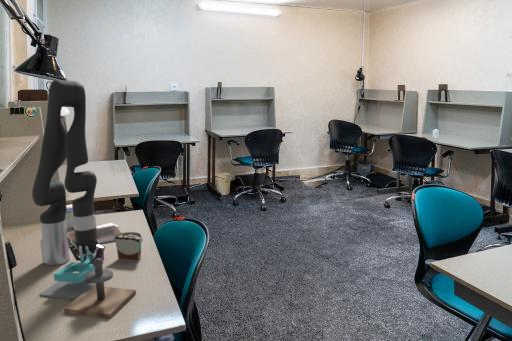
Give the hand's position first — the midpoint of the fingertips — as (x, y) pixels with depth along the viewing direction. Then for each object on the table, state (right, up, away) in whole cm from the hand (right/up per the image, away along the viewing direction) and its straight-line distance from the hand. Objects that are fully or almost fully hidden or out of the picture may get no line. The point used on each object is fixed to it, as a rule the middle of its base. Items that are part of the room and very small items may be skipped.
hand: (89, 271), depth 158 cm
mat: (-3, -4, -6) cm, 8 cm away
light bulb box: (-31, +9, +61) cm, 69 cm away
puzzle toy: (-5, 0, +17) cm, 18 cm away
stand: (+11, -6, -18) cm, 22 cm away
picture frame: (-13, +5, +42) cm, 45 cm away
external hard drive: (-14, +7, +55) cm, 58 cm away
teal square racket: (-1, +1, -5) cm, 5 cm away
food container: (+10, +1, +20) cm, 22 cm away
